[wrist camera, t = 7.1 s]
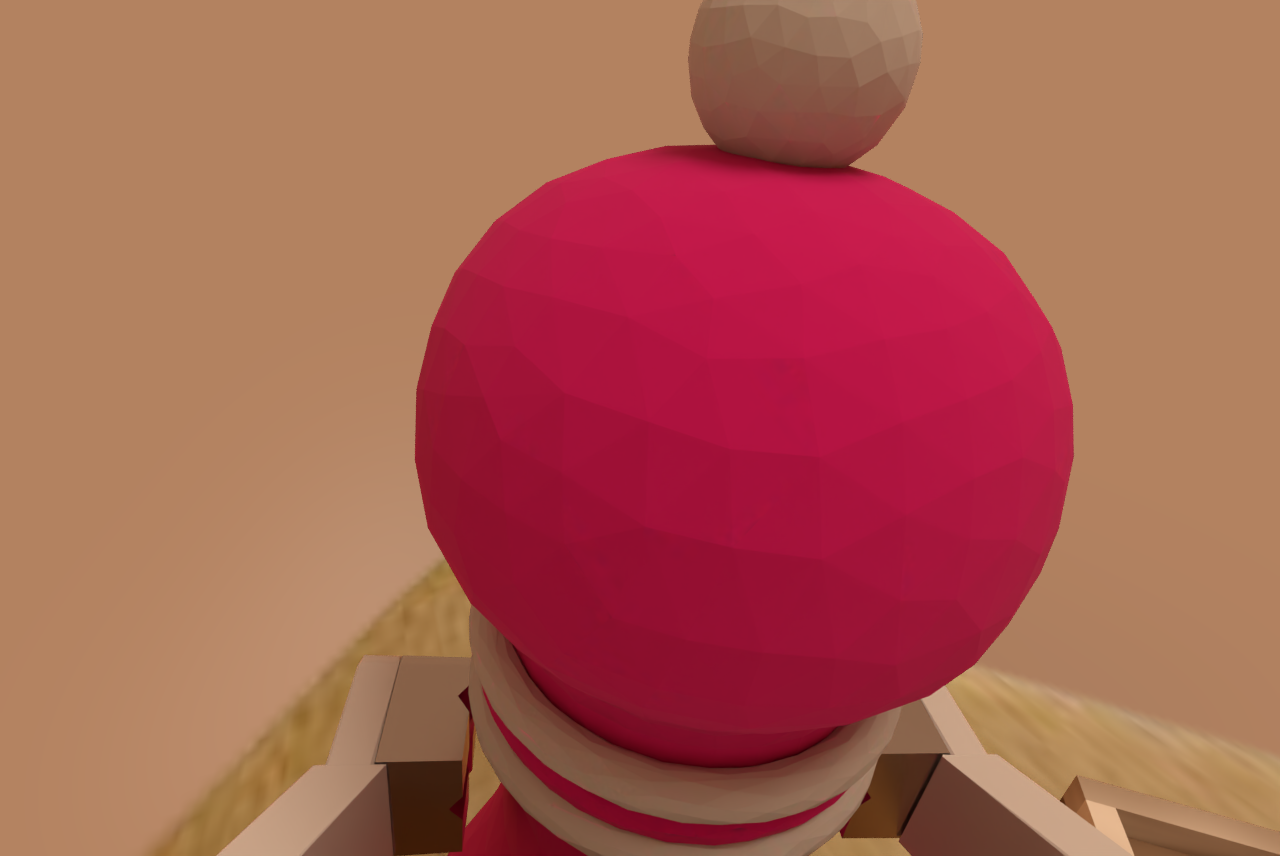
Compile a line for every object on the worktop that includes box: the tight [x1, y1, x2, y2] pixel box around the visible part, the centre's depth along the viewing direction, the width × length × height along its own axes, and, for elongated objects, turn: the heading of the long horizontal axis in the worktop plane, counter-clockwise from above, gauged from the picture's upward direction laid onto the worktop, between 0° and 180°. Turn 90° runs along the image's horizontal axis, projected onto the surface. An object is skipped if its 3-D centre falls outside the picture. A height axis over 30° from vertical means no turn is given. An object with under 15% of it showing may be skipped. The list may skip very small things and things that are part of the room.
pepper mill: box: [415, 0, 1074, 856], centre depth 10 cm, size 7×7×20 cm
